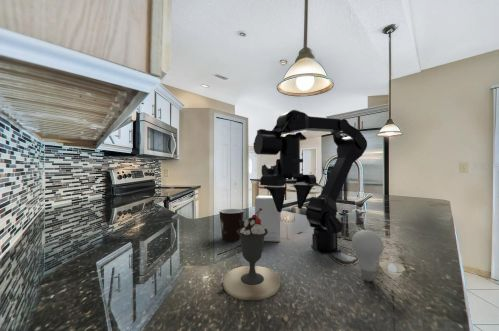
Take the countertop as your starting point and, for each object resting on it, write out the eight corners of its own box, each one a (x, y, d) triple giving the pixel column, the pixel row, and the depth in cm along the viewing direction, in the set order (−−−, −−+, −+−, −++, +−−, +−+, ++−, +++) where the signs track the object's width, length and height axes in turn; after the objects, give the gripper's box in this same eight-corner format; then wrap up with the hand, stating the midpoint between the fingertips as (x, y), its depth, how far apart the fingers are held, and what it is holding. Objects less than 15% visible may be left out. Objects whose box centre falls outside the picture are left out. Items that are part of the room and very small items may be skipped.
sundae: (273, 284, 43) (272, 209, 44) (240, 289, 42) (240, 211, 42) (262, 270, 50) (262, 204, 50) (233, 273, 48) (233, 206, 48)
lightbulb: (384, 291, 43) (383, 235, 43) (350, 283, 46) (349, 231, 46) (384, 278, 48) (383, 229, 48) (354, 272, 51) (353, 225, 52)
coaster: (269, 268, 53) (268, 263, 53) (289, 295, 42) (289, 289, 42) (220, 274, 50) (220, 268, 50) (227, 304, 39) (227, 297, 39)
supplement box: (280, 242, 73) (280, 198, 74) (254, 241, 75) (254, 197, 75) (281, 234, 82) (280, 195, 83) (257, 233, 84) (257, 195, 84)
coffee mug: (242, 243, 72) (242, 213, 73) (217, 243, 72) (217, 213, 73) (244, 233, 84) (244, 207, 84) (222, 233, 84) (222, 207, 84)
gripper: (288, 158, 74) (288, 203, 74) (246, 155, 62) (246, 210, 62) (317, 156, 66) (317, 207, 65) (275, 152, 54) (276, 216, 53)
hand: (290, 210), depth 61 cm, fingers open, 9 cm apart
